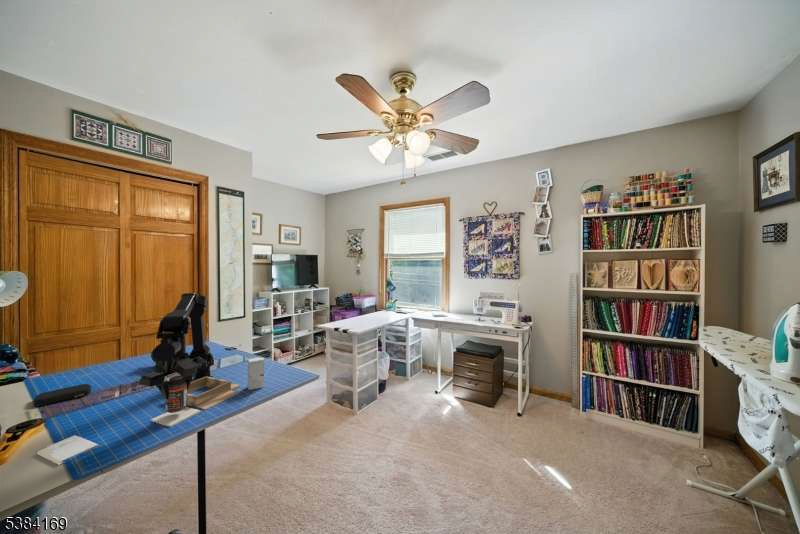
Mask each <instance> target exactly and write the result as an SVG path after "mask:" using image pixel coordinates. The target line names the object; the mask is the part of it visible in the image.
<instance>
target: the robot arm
mask: <svg viewBox="0 0 800 534" xmlns="http://www.w3.org/2000/svg"><path fill="white" fill-rule="evenodd" d="M208 305H209V299H208V298H207V297H206V296H205V295H201V294H198V293H196V292H185V293H182V294H181V296H180V299H179V301H178V303H177V304H176V306H175V307H174V310H173V311H170V312H168V313H166V314H165V315H164V316H163V317H162V318H161V319H160V322H159V325H158V329H157V333H156V337H155V339H156V340H160V343H159V344H158V345H156V346H155V347H154V348H155V349H154V348H153V350H154V351H153V350H152V351H153V356H154V357H155V358H156V359H157V360H159V361H165V366H164V367H163V370H165V371H164V372H162V373H157V372H156V371H152V372H149V373H146V374H143V375H141V377H140V379H139V385H141V386H145V387H148V388H150V387H151V388H152V387H153V388H154V387H156V388H157V389H158V391H159V392H160V394H161V395H162V397H163V399H164V400H165V401H166V400H167V399H168V396H169V393H168V384H169V383H170V381H169V380H168V377H172V376H175V375H177V374H178V375H179V376H182V377H183V381H185V382H186V383H187V390H188V388H189V385H190V382H193V381H195V380H198V379H200V378H203V377H205V376H207V377H212V378H214V376H213V375H211V367H212V366H215V360H214V359H215V358H214V356H213V354H212V352H211V348H210V347H209V346H208V345H207V344H206V337H205V336H206V334H205V325H204V313H205V312H206V310H207V307H208ZM190 329H191V337H192V340H191V342H192V349H191V351H190V353H189V352H187V351H186V347H187V346H186V340H187V339H186V336H187V334H189V332H190Z"/></svg>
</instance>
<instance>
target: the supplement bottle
mask: <svg viewBox="0 0 800 534" xmlns="http://www.w3.org/2000/svg"><path fill="white" fill-rule="evenodd" d="M168 381H170V383H169V384H168V393H169V396H168V399H167V400H166V399H165V412H168V413H175V412H179V411H181V410H183V409H185V408H186V407H187V406H188V405H187V383H186V382H185V381H183V377H182V376H181V375H173V376H170V378H169V379H168Z"/></svg>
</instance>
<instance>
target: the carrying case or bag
mask: <svg viewBox="0 0 800 534" xmlns="http://www.w3.org/2000/svg"><path fill="white" fill-rule="evenodd" d="M91 392H92V386H91V385H90V384H89V383H83V384H78V385H77V384H76V385H71V386H68V387H63V388H59V389H53V390H50V391H48V390H47V391H44V392H41V393H39V394H37V395H36V396H35V397H34V399H33V403H32V404H33V405H34V406H36V405H44V406H46V405H45V404H48V405H51V404H50V403H53V404H56V403H55V402H57V403H61V402H65V400H66V401H70V400H73V399H78V398H82V397H85V396H89V394H90V393H91ZM60 401H61V402H60Z"/></svg>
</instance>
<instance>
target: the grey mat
mask: <svg viewBox="0 0 800 534" xmlns="http://www.w3.org/2000/svg"><path fill="white" fill-rule="evenodd" d="M200 413H201V409H200V410H199V409H196V408H194V407H190V406H189V407H186V408H185V409H183V410H181V411H179V412H175V413H168V412H167V411H165V413H162V414H160V415H158V416H156V417H153V418H151V419H150V422H153V423H155V422H156V423H155V424H158V423H159V424H160V425H163V426H166V427H168V428H172V427H174V426H177V425H178V424H180V423H182V422H184V421H186V420H188V419H190V418H191V417H194V416H196V415H198V414H200Z"/></svg>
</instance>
